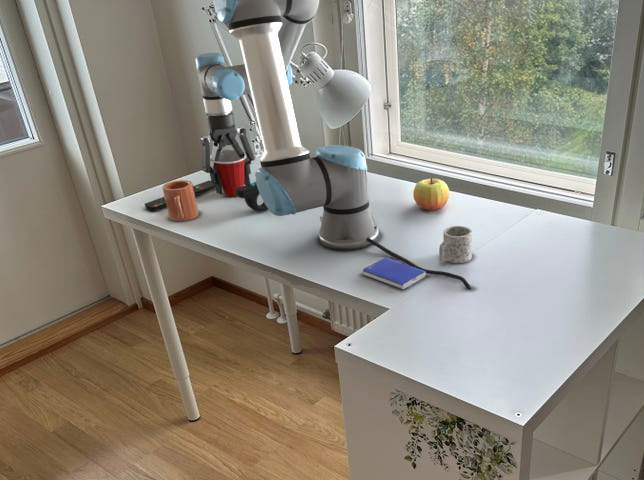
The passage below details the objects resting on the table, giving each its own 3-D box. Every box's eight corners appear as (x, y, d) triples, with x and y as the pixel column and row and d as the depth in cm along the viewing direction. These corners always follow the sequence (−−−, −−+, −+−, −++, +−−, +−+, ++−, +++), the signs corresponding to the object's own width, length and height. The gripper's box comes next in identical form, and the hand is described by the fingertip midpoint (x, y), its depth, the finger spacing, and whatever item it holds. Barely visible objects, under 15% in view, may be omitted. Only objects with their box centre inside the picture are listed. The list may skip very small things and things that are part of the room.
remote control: (220, 187, 220) (219, 183, 219) (154, 212, 205) (153, 208, 204) (210, 184, 223) (209, 180, 222) (143, 208, 208) (142, 204, 207)
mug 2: (455, 249, 176) (454, 223, 172) (477, 255, 172) (477, 230, 168) (429, 263, 170) (428, 237, 166) (451, 270, 166) (451, 244, 162)
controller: (282, 206, 204) (277, 172, 199) (245, 219, 198) (239, 184, 192) (274, 203, 207) (269, 169, 202) (237, 215, 200) (230, 180, 195)
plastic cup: (232, 203, 209) (225, 162, 202) (208, 196, 214) (200, 156, 208) (260, 191, 216) (253, 152, 209) (236, 185, 221) (229, 146, 215)
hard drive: (362, 269, 165) (402, 283, 158) (386, 256, 170) (425, 270, 163) (362, 275, 166) (402, 290, 159) (386, 262, 171) (426, 276, 164)
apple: (443, 198, 205) (442, 171, 200) (453, 210, 197) (453, 182, 192) (410, 203, 203) (409, 175, 198) (419, 215, 195) (418, 187, 190)
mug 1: (170, 212, 204) (163, 182, 199) (199, 209, 205) (192, 178, 200) (167, 227, 195) (159, 195, 190) (197, 223, 196) (190, 192, 191)
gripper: (245, 102, 210) (258, 177, 222) (178, 118, 198) (195, 195, 211) (259, 107, 205) (271, 183, 218) (190, 122, 194) (207, 202, 206)
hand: (233, 189), depth 214 cm, fingers closed on plastic cup, 9 cm apart
